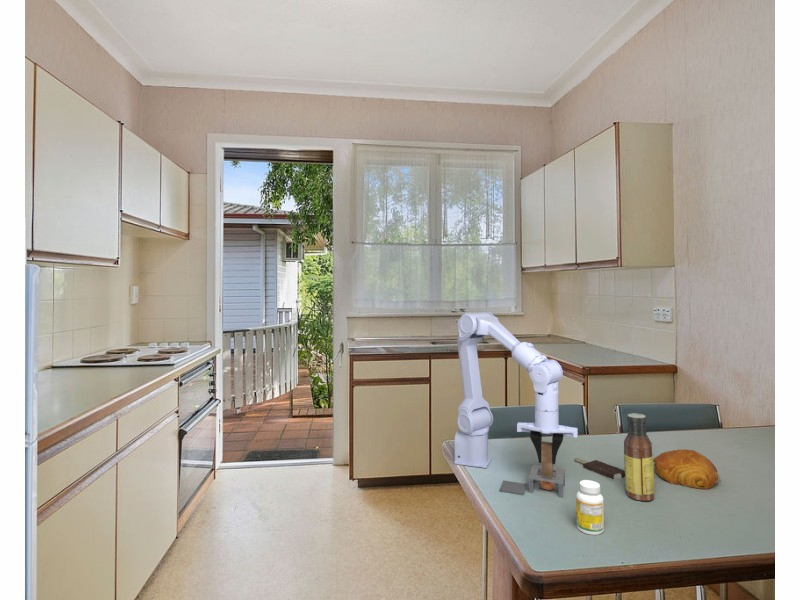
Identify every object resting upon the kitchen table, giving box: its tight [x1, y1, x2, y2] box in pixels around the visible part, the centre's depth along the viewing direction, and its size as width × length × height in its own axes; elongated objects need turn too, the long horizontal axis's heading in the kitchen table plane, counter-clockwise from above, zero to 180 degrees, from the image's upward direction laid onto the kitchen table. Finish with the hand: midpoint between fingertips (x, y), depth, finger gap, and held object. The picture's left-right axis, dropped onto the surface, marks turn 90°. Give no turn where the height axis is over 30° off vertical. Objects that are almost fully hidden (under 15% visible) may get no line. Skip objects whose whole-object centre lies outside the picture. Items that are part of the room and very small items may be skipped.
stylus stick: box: [540, 441, 554, 477], centre depth 115 cm, size 3×3×9 cm
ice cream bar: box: [574, 457, 625, 480], centre depth 127 cm, size 5×2×15 cm
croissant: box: [653, 449, 719, 490], centre depth 121 cm, size 14×16×8 cm
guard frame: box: [528, 464, 566, 499], centre depth 115 cm, size 8×8×4 cm
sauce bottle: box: [623, 412, 655, 502], centre depth 110 cm, size 7×6×20 cm
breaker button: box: [539, 480, 555, 491], centre depth 115 cm, size 3×3×2 cm
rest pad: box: [498, 479, 528, 496], centre depth 116 cm, size 6×6×1 cm
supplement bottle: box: [575, 479, 605, 536], centre depth 96 cm, size 5×5×10 cm
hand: (547, 462), depth 115 cm, fingers closed on stylus stick, 3 cm apart
